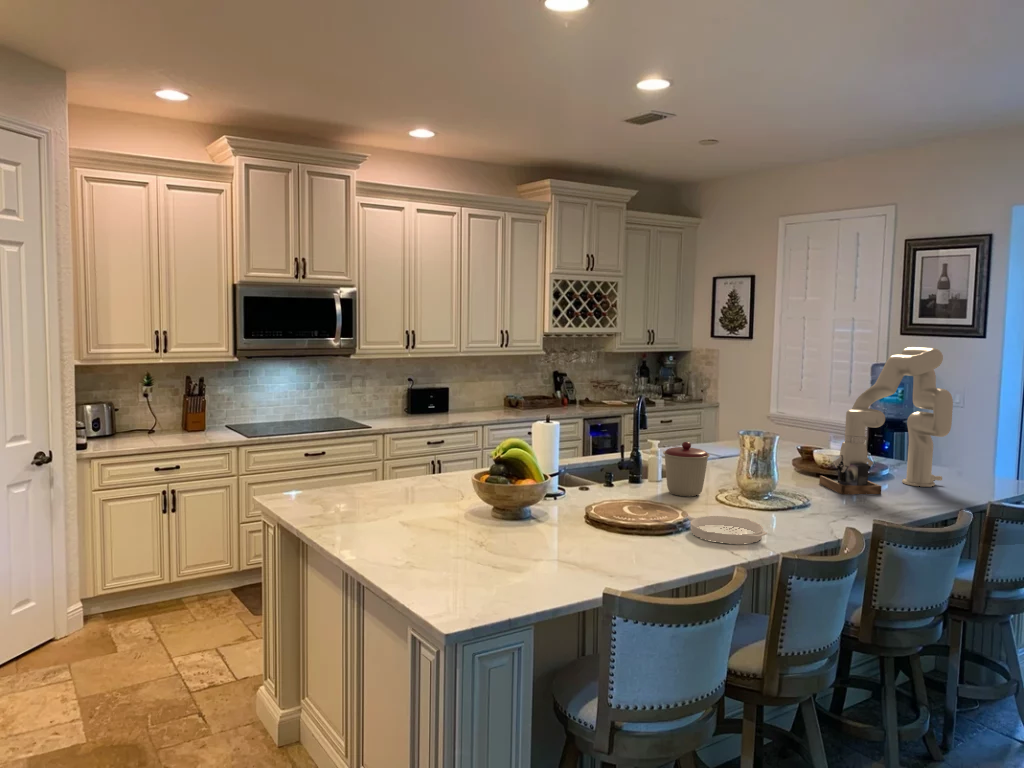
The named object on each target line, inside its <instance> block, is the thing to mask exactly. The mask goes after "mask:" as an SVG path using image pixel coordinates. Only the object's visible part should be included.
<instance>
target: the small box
mask: <svg viewBox="0 0 1024 768" xmlns="http://www.w3.org/2000/svg"><path fill="white" fill-rule="evenodd" d="M841 463H843V462H842V461H841ZM841 465H842V464H841ZM841 465H840V464H839V466H841ZM868 467H869V464H868V463H867V464H865V463H855V464H850V466H849V467H847V468H846V470H845V471H844V472H845V473H846V476H845V482H842V481H840V478H839V476H840V471H839V470H838V469H837V482H838V483H840V484H842V485H859V486H868V481H869V470H868Z"/></svg>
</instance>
